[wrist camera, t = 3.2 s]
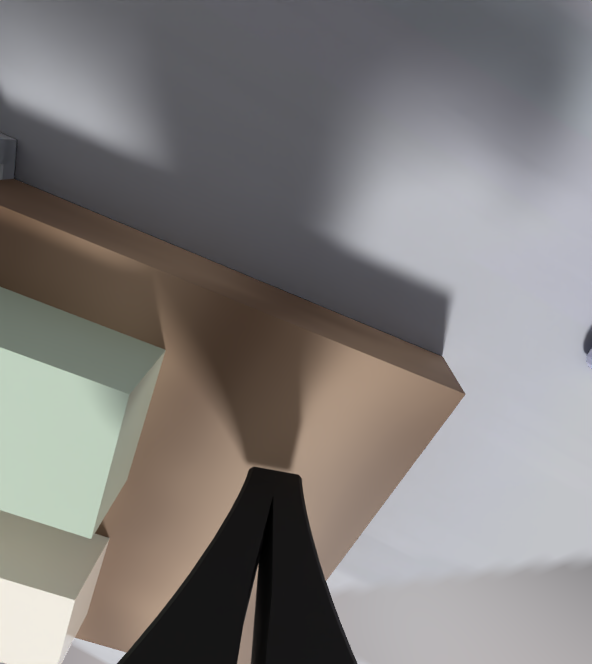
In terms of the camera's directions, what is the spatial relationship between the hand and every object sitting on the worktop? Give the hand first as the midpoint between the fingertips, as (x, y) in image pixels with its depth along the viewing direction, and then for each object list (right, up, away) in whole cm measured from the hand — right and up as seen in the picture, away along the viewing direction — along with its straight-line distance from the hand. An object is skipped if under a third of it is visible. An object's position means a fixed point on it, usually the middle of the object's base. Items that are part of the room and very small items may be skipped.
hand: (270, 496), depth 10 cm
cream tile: (-9, -4, +3) cm, 10 cm away
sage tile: (-6, +3, 0) cm, 7 cm away
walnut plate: (-4, -1, +4) cm, 6 cm away
